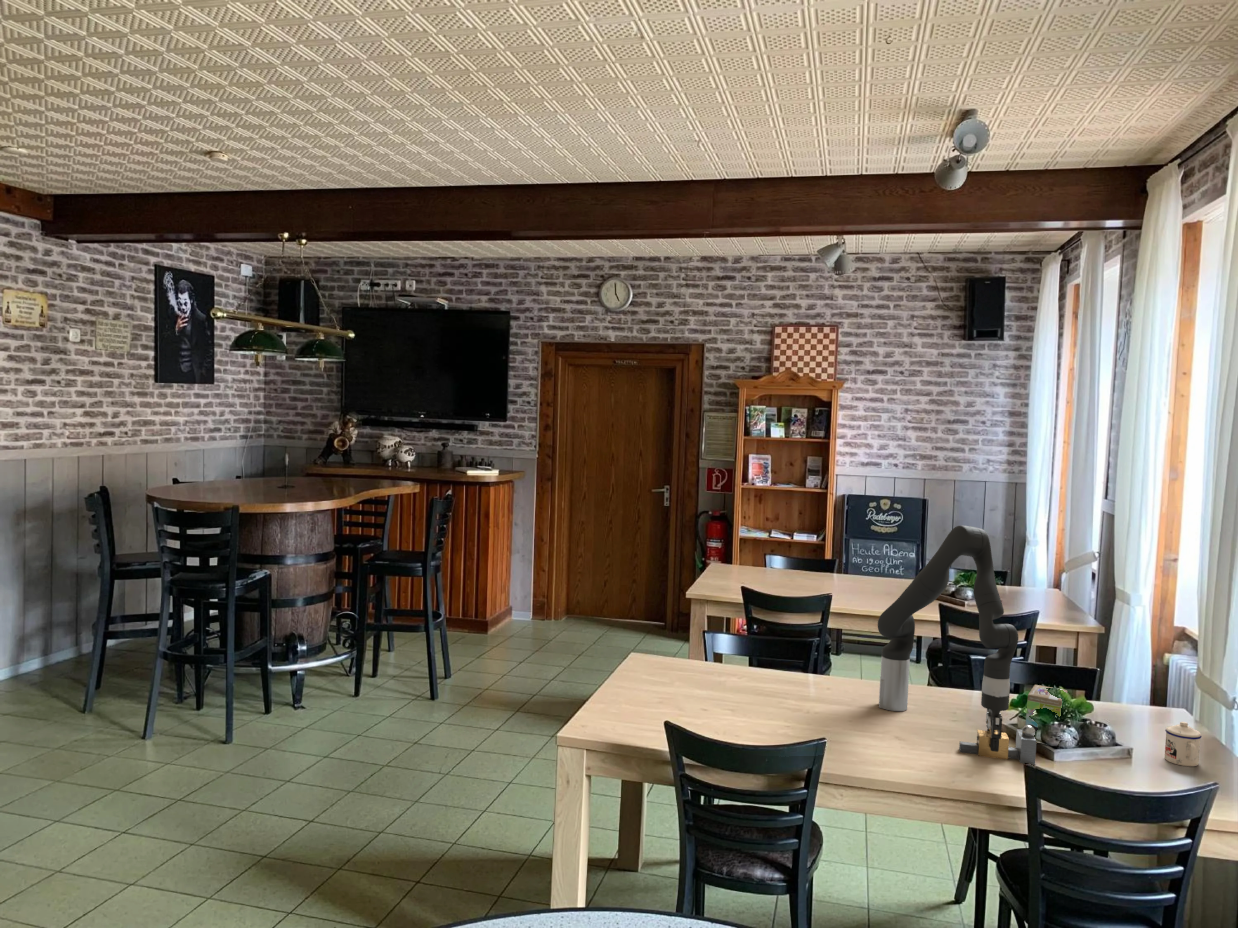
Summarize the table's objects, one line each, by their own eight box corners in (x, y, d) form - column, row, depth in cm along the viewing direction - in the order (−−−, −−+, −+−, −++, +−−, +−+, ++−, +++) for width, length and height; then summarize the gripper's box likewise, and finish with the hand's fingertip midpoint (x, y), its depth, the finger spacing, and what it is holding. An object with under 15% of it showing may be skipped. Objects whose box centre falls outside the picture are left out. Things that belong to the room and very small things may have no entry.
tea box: (1059, 748, 282) (1062, 700, 281) (1023, 741, 287) (1026, 693, 286) (1065, 735, 294) (1068, 688, 294) (1030, 728, 300) (1033, 683, 299)
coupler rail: (961, 755, 272) (962, 722, 272) (958, 745, 281) (959, 713, 280) (1036, 764, 267) (1038, 730, 266) (1030, 754, 276) (1032, 721, 275)
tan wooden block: (977, 755, 273) (978, 735, 272) (975, 749, 278) (976, 729, 278) (1007, 759, 271) (1008, 738, 270) (1004, 752, 276) (1006, 732, 276)
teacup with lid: (1158, 754, 279) (1160, 716, 279) (1191, 757, 278) (1193, 718, 278) (1175, 769, 268) (1178, 729, 267) (1210, 772, 266) (1213, 731, 266)
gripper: (979, 683, 281) (976, 736, 282) (984, 696, 267) (981, 752, 268) (1005, 686, 279) (1002, 739, 280) (1013, 699, 265) (1009, 755, 266)
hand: (992, 745), depth 274 cm, fingers open, 8 cm apart
